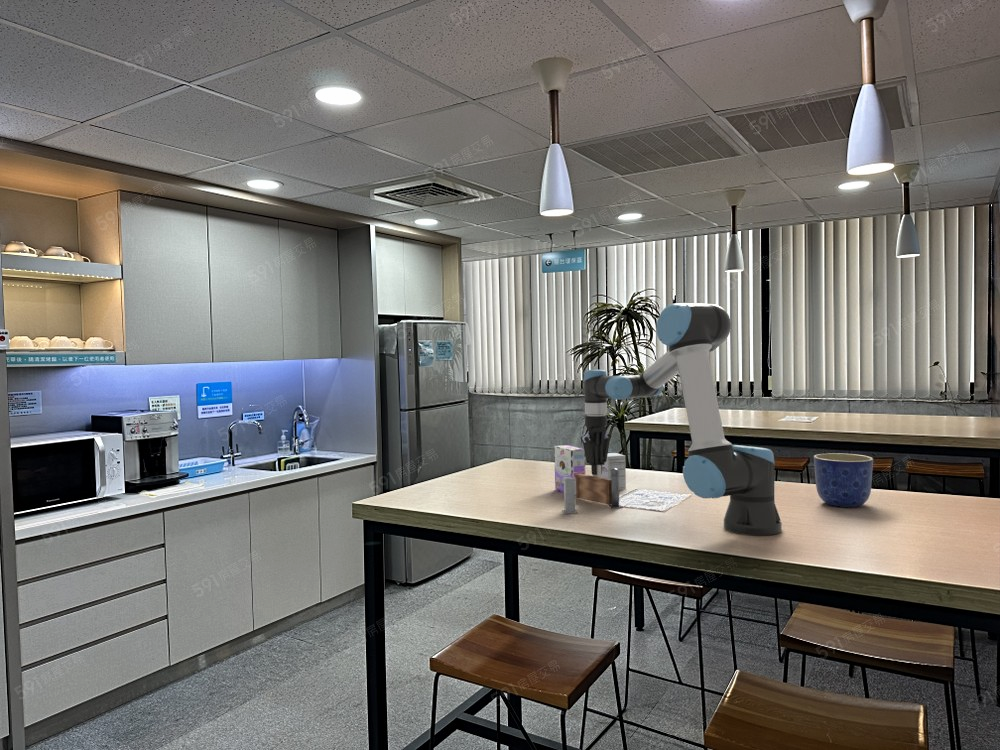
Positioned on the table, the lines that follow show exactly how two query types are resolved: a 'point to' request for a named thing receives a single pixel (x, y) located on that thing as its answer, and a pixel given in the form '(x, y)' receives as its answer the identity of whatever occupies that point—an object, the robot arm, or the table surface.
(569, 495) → the stile
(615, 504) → the hinge post
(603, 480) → the gate
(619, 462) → the supplement box
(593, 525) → the table surface
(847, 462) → the planter
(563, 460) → the candy box
